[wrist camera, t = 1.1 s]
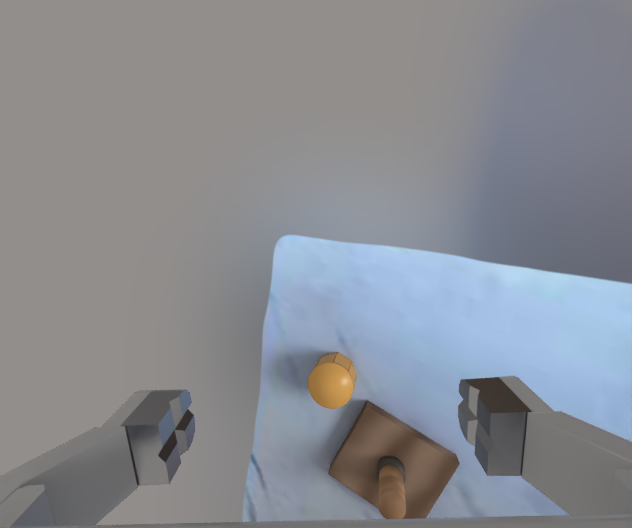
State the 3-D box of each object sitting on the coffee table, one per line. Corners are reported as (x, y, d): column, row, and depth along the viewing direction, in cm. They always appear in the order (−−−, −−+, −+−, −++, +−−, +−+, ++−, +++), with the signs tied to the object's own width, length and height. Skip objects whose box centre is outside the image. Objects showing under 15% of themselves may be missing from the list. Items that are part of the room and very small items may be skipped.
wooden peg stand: (456, 454, 44) (474, 503, 35) (414, 522, 45) (421, 584, 37) (367, 400, 47) (363, 432, 38) (330, 465, 48) (318, 511, 39)
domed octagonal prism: (363, 366, 47) (360, 379, 42) (343, 401, 47) (339, 417, 43) (327, 345, 48) (320, 354, 43) (308, 379, 49) (300, 392, 44)
